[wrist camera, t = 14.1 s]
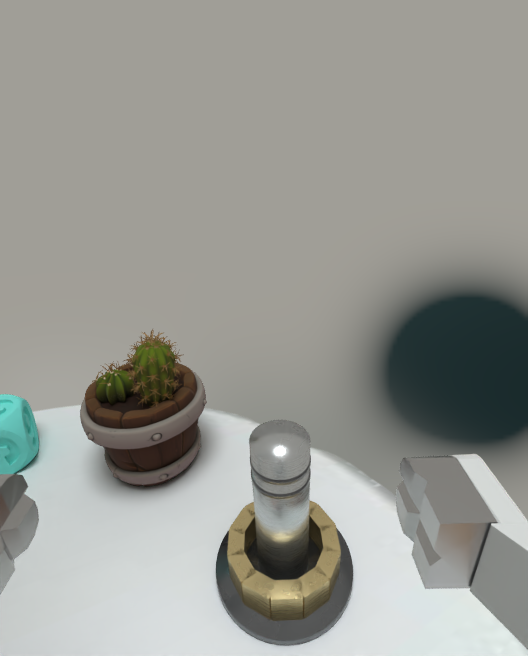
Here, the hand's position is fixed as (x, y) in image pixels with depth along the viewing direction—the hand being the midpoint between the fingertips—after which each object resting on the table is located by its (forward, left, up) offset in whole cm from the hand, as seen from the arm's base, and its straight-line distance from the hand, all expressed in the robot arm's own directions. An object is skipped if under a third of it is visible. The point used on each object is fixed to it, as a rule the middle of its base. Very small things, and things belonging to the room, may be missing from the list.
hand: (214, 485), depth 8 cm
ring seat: (+2, +17, -30) cm, 35 cm away
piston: (+2, +17, -29) cm, 34 cm away
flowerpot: (-14, +32, -30) cm, 46 cm away
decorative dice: (-35, +33, -30) cm, 57 cm away
